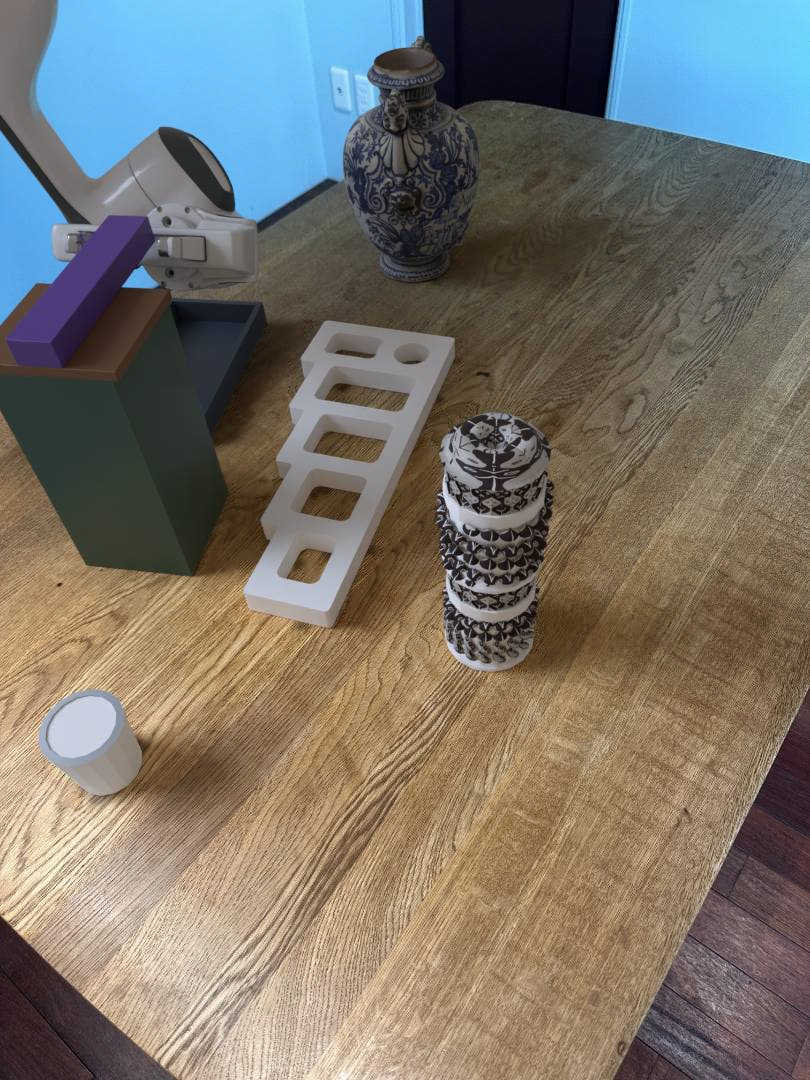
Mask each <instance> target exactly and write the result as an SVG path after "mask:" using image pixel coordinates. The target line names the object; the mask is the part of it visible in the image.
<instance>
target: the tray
mask: <svg viewBox="0 0 810 1080" xmlns="http://www.w3.org/2000/svg"><path fill="white" fill-rule="evenodd" d="M169 305H170V309H171V312H172V315H173V318H174V321H175V324H176V328H177V331H178V334H179V337H180V340H181V344H182V347H183V350H184V353H185V356H186V359H187V363H188V366H189V369H190V372H191V375H192V378H193V382H194V385H195V388H196V391H197V394H198V397H199V401H200V404H201V407H202V410H203V413H204V417H205V420H206V423H207V426H208V429H209V432H210V436H211V438H212V437H213V435H214V434H215V431H216V429H217V427H218V425H219V423H220V421H221V419H222V417H223V415H224V413H225V411H226V409H227V406H228V405H229V403H230V401H231V398H232V397H233V394H235V393H234V392H235V391H236V389H237V387H238V384H239V382H240V381H241V378H242V376H243V375H244V372H245V370H246V368H247V366H248V365H249V362H250V360H251V358H252V357H253V354H254V352H255V349H256V348H257V346H258V344H259V341H260V339H261V337H262V335H263V333H264V332H265V330H266V328H267V326H268V322H267V317H266V312H265V307H264V303H263V302H262V301H243V300H242V301H241V300H223V299H205V298H203V299H201V298H185V297H172V300H171V302H170V303H169Z"/></svg>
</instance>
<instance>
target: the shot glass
mask: <svg viewBox="0 0 810 1080" xmlns="http://www.w3.org/2000/svg"><path fill="white" fill-rule="evenodd" d="M37 743H38V746H39V749H40V751H41V753H42V756H43V757H44V758H45V759H47V760H48V761H49V762H50V763H51V764H52V765H54V766H55V767H57V768H58V769H59V770H60V771H61V772H62V773H63V774H65V775H66V776H67V777H68V778H70V780H72V781H73V782H74V783H76V784H77V786H79V787H80V788H81V789H82V790H84V791H86V792H87V793H88V794H89V795H93V796H94V795H95V796H100V797H104V796H108V795H114V794H117V793H118V792H120V791H122V790H123V789H125V788H127V787H129V785H130V784H131V783H132V782H133V781H134V780H135V778H136V777H137V776H138V774H139V772H140V769H141V767H142V765H143V751H142V749H141V746H140V744H139V742H138V740H137V737H136V734H135V732H134V729H133V727H132V725H131V723H130V721H129V719H128V716H127V713H126V711H125V709H124V707H123V705H122V703H121V700H120V698H118V697H116V696H115V695H114V694H112V693H110V692H109V691H107V690H103V689H95V688H90V689H86V690H81V691H76V692H74V693H72V694H70V695H68V696H66V697H65V698H62V699H61V700H59V701H58V702H57V703H56V704H55V705H54V706H53V707H52V708H51V709H50V710H49V711H48V712H47V713H46V714H45V717H44V718H43V721H42V722H41V725H40V726H39V729H38V740H37Z"/></svg>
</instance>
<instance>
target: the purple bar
mask: <svg viewBox="0 0 810 1080" xmlns="http://www.w3.org/2000/svg"><path fill="white" fill-rule="evenodd" d="M154 242H155V238H154V235H153V231H152V228H151V225H150V222H149V218H148V217H147V216H119V215H108V217H107V218H106V219H105V220H104V221H103V223H102V224H101V225H100V226H99V227H98V229H97V230H96V231H95V232H94V234H93V235H92V236H91V237H90V238H89V240H88V241H87V242H86V243H85V244H84V246H83V247H82V248H81V249H80V250H79V252H78V253H77V254H76V255H75V256H74V258H73V259H72V260H71V261H70V262H68V263H67V264H66V266H65V267H64V268H63V270H61V271H60V273H59V274H58V275H57V277H55V279H54V280H53V281H52V282H51V283H50V284H51V285H50V286H49V288H48V289H47V290H46V291H45V292H44V294H43V295H42V296H41V297H40V298H39V300H38V301H37V302H36V303H35V304H34V306H33V307H32V308H31V309H30V310H29V312H28V313H27V314H26V315H25V316H24V318H23V319H22V320H21V321H20V322H19V324H18V325H17V326H16V327H15V328H14V330H13V331H12V332H11V333H10V334H9V336H8V337H7V338H6V339H5V341H6V343H7V345H8V347H9V349H10V351H11V353H12V355H13V356H14V358H15V360H16V362H17V364H18V365H20V366H36V367H51V368H63V367H64V366H65V365H66V363H67V362H68V360H69V359H70V358H71V356H72V355H73V354H74V352H75V351H76V349H77V348H78V347H79V345H80V344H81V343H82V341H83V340H84V338H85V337H86V336H87V334H88V333H89V332H90V330H91V329H92V327H93V326H94V325H95V323H96V322H97V321H98V319H99V318H100V316H101V315H102V314H103V312H104V311H105V310H106V308H107V307H108V305H109V304H110V303H111V301H112V300H113V299H114V297H115V296H116V294H117V293H118V292H119V290H120V289H121V288H122V287H124V285H125V284H126V282H127V281H128V279H129V278H130V277H131V275H132V274H133V273H134V271H135V270H136V269H135V268H136V267H137V266H138V264H139V263H140V261H141V260H142V259H143V257H144V256H145V255H146V253H147V252H148V250H149V249H150V248H151V246H152V245H153V244H154Z"/></svg>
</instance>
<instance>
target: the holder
mask: <svg viewBox="0 0 810 1080" xmlns="http://www.w3.org/2000/svg"><path fill="white" fill-rule="evenodd" d="M339 351H348V352H355V353H360V354H361V353H362V354H368V355H374V356H373V357H370V358H366V357H360V356H353V355H346V354H339V353H337V352H339ZM455 358H456V340H455V338H454V337H451V336H445V335H437V334H431V333H429V334H428V333H423V332H415V331H408V330H401V329H394V328H393V329H392V328H385V327H380V326H379V327H377V326H373V325H372V326H371V325H363V324H356V323H349V322H342V321H334V320H325V321H324V322H323V323H322V324H321V326H320V327H319V329H318V331H317V332H316V334H315V335H314V337H313V338H312V340H311V341H310V343H309V345H308V346H307V347H306V349H305V351H304V352H303V354H302V355H301V356H300V363H301V369H302V375H303V378H305V379H303V382H302V384H301V385H300V387H299V388H298V390H297V391H296V393H295V395H294V396H293V398H292V399H291V401H290V402H289V405H288V409H289V412H290V418H291V422H292V425H294V428H293V429H292V431H291V432H290V434H289V436H288V437H287V439H286V441H284V442H285V443H283V445H282V447H281V449H280V450H279V452H278V454H277V455H276V457H275V462H276V466H277V471H278V474H279V478H280V479H282V482H281V483H280V485H279V487H278V489H277V490H276V492H275V493H274V496H273V497H272V499H271V501H270V502H269V504H268V506H267V508H266V509H265V511H264V512H263V514H262V516H261V517H260V523H261V527H262V530H263V533H264V534H263V535H264V537H265V540H268V541H269V542H268V545H267V546H266V548H265V550H264V551H263V554H262V555H261V557H260V559H259V561H258V562H257V564H256V566H255V567H254V570H253V571H252V573H251V575H250V577H249V579H248V580H247V582H246V584H245V585H244V588H243V590H242V591H243V595H244V597H245V601H246V603H247V606H248V610H250V611H254V612H258V613H262V614H265V615H270V616H275V617H278V618H284V619H287V620H291V621H296V622H300V623H305V624H308V625H312V626H316V627H322V628H326V629H331V628H333V627H334V624H335V623H336V620H337V619H338V616H339V614H340V611H341V609H342V607H343V605H344V603H345V600H346V598H347V596H348V594H349V592H350V590H351V587H352V585H353V583H354V581H355V578H356V577H357V574H358V573H359V571H360V568H361V565H362V563H363V561H364V559H365V556H366V554H367V552H368V551H369V548H370V546H371V543H372V541H373V539H374V537H375V534H376V532H377V530H378V528H379V525H380V523H381V522H382V519H383V517H384V515H385V513H386V510H387V509H388V506H389V503H390V501H391V499H392V497H393V495H394V493H395V490H396V488H397V486H398V483H399V482H400V479H401V477H402V475H403V473H404V471H405V468H406V466H407V464H408V462H409V461H410V460H409V459H410V457H411V456H412V453H413V451H414V449H415V446H416V444H417V442H418V439H419V437H420V435H421V433H422V431H423V428H424V426H425V424H426V423H427V420H428V418H429V415H430V414H431V411H432V409H433V407H434V404H435V402H436V401H437V398H438V395H439V394H440V391H441V389H442V386H443V384H444V382H445V381H446V378H447V376H448V374H449V371H450V370H451V367H452V365H453V362H454V360H455ZM412 361H414V362H418V363H413V364H408V363H406V362H412ZM337 384H344V385H351V386H357V387H363V388H368V389H369V388H371V389H376V390H382V391H389V392H395V393H401V394H408V398H407V400H406V402H405V404H404V406H403V408H402V409H400V410H397V411H393V410H387V409H381V408H375V407H369V406H363V405H356V404H351V403H344V402H338V401H332V400H326V399H327V397H328V395H329V394H330V392H331V390H332V389H333V387H334V386H335V385H337ZM329 432H334V433H338V434H339V433H340V434H344V435H349V436H350V435H351V436H356V437H362V438H367V439H374V440H379V441H380V440H381V441H385V442H386V443H385V444H384V447H383V449H382V451H381V453H380V455H379V457H378V459H377V460H376V461H374V462H367V461H361V460H354V459H350V458H343V457H338V456H333V455H327V454H321V453H317V452H315V450H316V448H317V446H318V445H319V443H320V441H321V439H322V437H323V436H324V435H325V434H326V433H329ZM317 487H324V488H330V489H334V490H339V491H340V490H341V491H345V492H351V493H354V494H355V493H356V494H360V495H359V498H358V499H357V501H356V504H355V506H354V508H353V510H352V512H351V514H350V516H349V517H348V518H347V519H345V520H336V519H331V518H328V517H327V518H326V517H322V516H316V515H311V514H307V513H302V510H303V508H304V506H305V504H306V502H307V501H308V499H309V497H310V495H311V493H312V491H314V489H315V488H317ZM308 549H310V550H315V551H319V552H323V553H324V552H325V553H329V554H331V555H330V557H329V558H328V562H327V563H326V566H325V567H324V569H323V571H322V573H321V575H320V578H319V579H318V580H317V581H316V582H313V583H306V582H302V581H297V580H293V579H289V578H288V577H289V575H290V573H291V571H292V569H293V567H294V566H295V563H296V561H297V560H298V557H299V555H300V554H301V552H302V551H304V550H308Z"/></svg>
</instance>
